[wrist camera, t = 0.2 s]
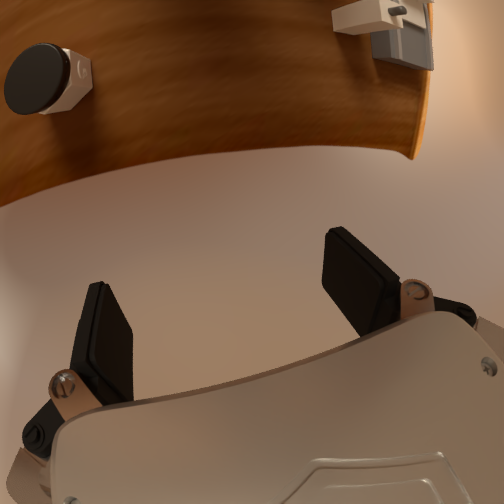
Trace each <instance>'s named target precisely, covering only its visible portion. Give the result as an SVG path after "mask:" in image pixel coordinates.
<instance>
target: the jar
mask: <svg viewBox="0 0 504 504" xmlns="http://www.w3.org/2000/svg"><path fill="white" fill-rule="evenodd" d="M92 88H93V85H92V74H91V60H90V59H88V58H86V57H84V56H82V55H80V54H78V53H76V52H73V51H71V50H69V49H63V48H60V47H59V46H57V45H54V44H50V43H39V44H36V45H33V46H31V47H29V48H27V49H26V50H25V51H23V52H22V53H21V54H20V55H19V56H18V57H17V58H16V60H15V61H14V62H13V64H12V65H11V67H10V69H9V71H8V73H7V76H6V80H5V85H4V95H5V100H6V103H7V105H8V106H9V108H10V109H11V110H12V111H13V112H15V113H17V114H21V115H28V114H33V113H40V114H49V113H55V112H62V111H68V110H71V109H72V108H73V107H74V106H75V105H76V104H77V103H78V102H79V101H80V100H81V99H82V98H83V97H84V96H85V95H86V94H87V93H88V92H89V91H90V90H91V89H92Z"/></svg>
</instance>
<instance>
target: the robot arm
mask: <svg viewBox="0 0 504 504" xmlns="http://www.w3.org/2000/svg"><path fill="white" fill-rule="evenodd" d="M399 279H400V277H399V276H398V275H397V274H396V273H395V272H393V271H392V270H391V269H390V268H389V267H388V266H387V265H386V264H385V263H384V262H383V261H382V260H380V259H379V258H378V257H377V256H376V255H375V254H374V253H373V252H371V251H370V250H369V249H368V248H367V247H366V246H365V245H364V244H362V243H361V242H360V241H359V240H358V239H356V237H354V236H353V235H352V234H351V233H350V232H348V231H347V230H346V229H345V228H344V227H342V226H340V227H336V228H331V229H329V231H328V233H326V235H325V249H324V261H323V273H322V285H323V288H324V289H325V291H326V292H327V293H328V294H329V296H330V297H331V298H332V300H333V301H334V302H335V304H336V305H337V306H338V308H339V309H340V310H341V312H342V313H343V314H344V316H345V317H346V318H347V320H348V321H349V322H350V324H351V325H352V326H353V328H354V329H355V330H356V332H357V333H358V334H359V336H360V338H358V339H355V340H353V341H350V342H348V343H345V344H343V345H341V346H338V347H335V348H333V349H330V350H328V351H325V352H322V353H320V354H317V355H314V356H311V357H308V358H306V359H303V360H300V361H297V362H294V363H291V364H288V365H285V366H282V367H279V368H275V369H272V370H269V371H266V372H262V373H259V374H256V375H252V376H248V377H245V378H241V379H237V380H234V381H230V382H226V383H222V384H218V385H214V386H209V387H205V388H200V389H196V390H192V391H187V392H181V393H177V394H171V395H165V396H160V397H154V398H148V399H142V400H136V401H134V396H133V333H132V329H131V327H130V326H129V324H128V322H127V320H126V318H125V316H124V314H123V312H122V310H121V309H120V306H119V304H118V302H117V300H116V298H115V297H114V294H113V292H112V290H111V288H110V286H109V284H105V283H104V282H103V281H100V282H96V283H92V284H90V285H89V288H88V292H87V295H86V299H85V303H84V307H83V310H82V314H81V319H80V320H79V323H78V327H77V332H76V336H75V341H74V346H73V351H72V357H71V362H70V368H69V369H64V370H61V371H59V372H57V373H56V374H55V375H54V376H53V377H52V379H51V381H50V383H49V387H48V390H49V395H50V397H51V399H50V400H49V401H48V402H47V403H46V404H45V405H44V406H43V407H42V408H41V409H40V410H39V411H38V413H37V414H36V415H35V416H34V417H33V418H32V419H31V420H30V421H29V422H28V423H27V424H26V426H25V427H24V430H23V433H22V440H23V444H24V448H23V449H22V448H20V449H19V451H18V454H17V456H16V458H15V461H14V463H13V465H12V467H11V470H10V472H9V475H8V477H7V481H6V485H7V490H8V493H9V494H10V496H11V497H12V498H13V499H14V500H15V501H16V502H17V503H18V504H504V329H503V328H502V327H500V326H498V325H496V324H494V323H492V322H490V321H488V320H486V319H484V318H482V317H480V316H479V318H478V319H477V317H476V314H475V312H474V310H473V309H472V308H471V307H469V306H468V305H466V304H463V303H460V302H455V301H451V300H447V299H443V298H438V297H434V296H433V293H432V290H431V288H430V287H429V286H428V285H427V284H426V283H424V282H422V281H420V280H417V279H408V280H406V281H404V282H403V283H402V284H401V283H400V282H399Z"/></svg>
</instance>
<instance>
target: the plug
mask: <svg viewBox="0 0 504 504" xmlns="http://www.w3.org/2000/svg"><path fill="white" fill-rule="evenodd" d="M331 12H332V21H333V31H335V32H341V33H346V34H351V35H358V34H363V33H369V32H376V31H383V30H391V29H401V28H403V21H402V15H406V14H407V10H406V8H405V7H404V6H400V4H398V3H395V2H393V1H390V0H361V1H358V2H355V3H352V4H349V5H346V6H343V7H340V8H337V9H334V10H332V11H331Z"/></svg>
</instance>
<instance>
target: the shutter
mask: <svg viewBox="0 0 504 504" xmlns="http://www.w3.org/2000/svg"><path fill="white" fill-rule="evenodd" d="M396 3H398V4H400V6H404V7H405V8H406V10H407V14H406V15H402V20H404V21H406V22H408V23H411V24H413V25H415V26H417V27H420V28H422V29H426V23H425V16H424V10H423V3H434V0H396Z"/></svg>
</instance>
